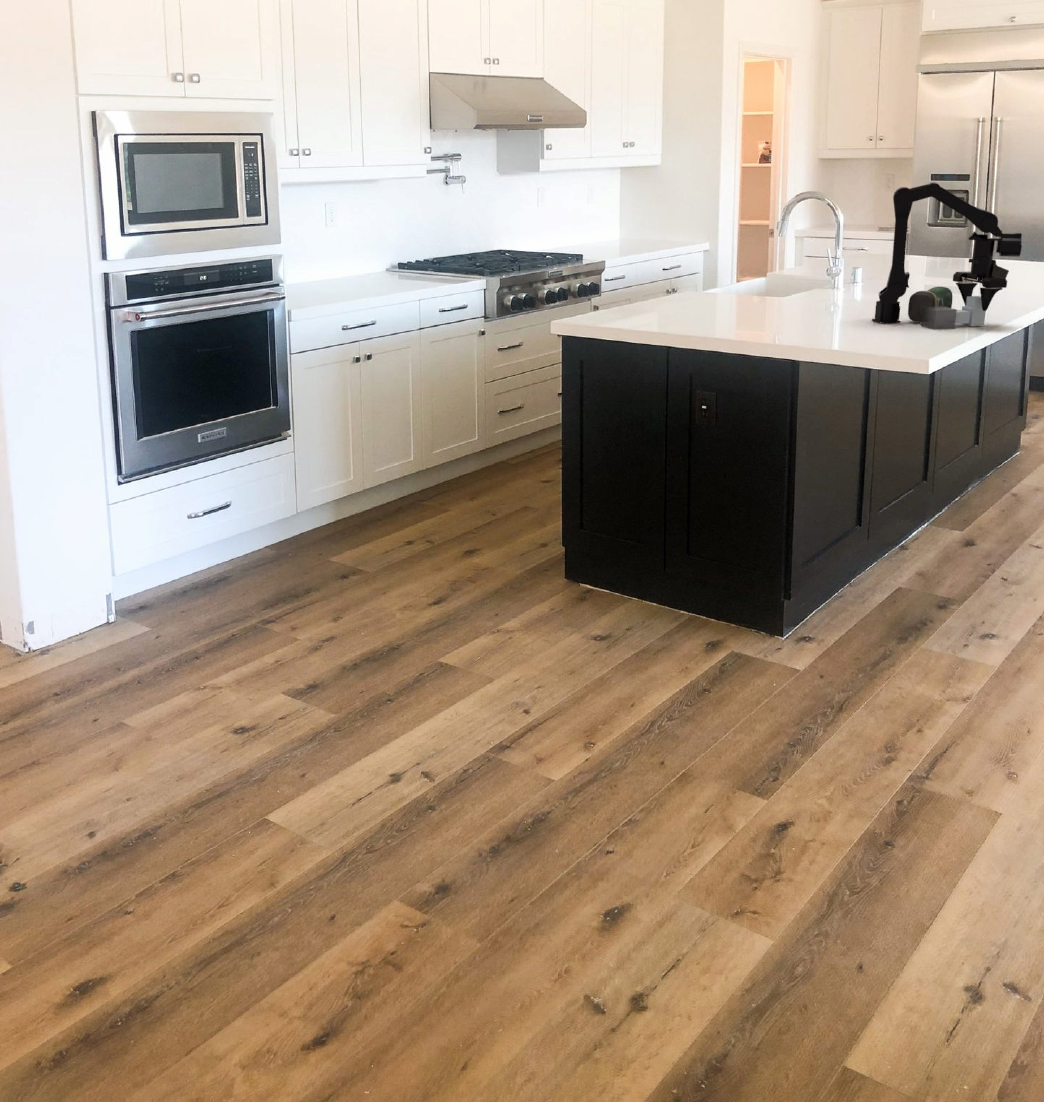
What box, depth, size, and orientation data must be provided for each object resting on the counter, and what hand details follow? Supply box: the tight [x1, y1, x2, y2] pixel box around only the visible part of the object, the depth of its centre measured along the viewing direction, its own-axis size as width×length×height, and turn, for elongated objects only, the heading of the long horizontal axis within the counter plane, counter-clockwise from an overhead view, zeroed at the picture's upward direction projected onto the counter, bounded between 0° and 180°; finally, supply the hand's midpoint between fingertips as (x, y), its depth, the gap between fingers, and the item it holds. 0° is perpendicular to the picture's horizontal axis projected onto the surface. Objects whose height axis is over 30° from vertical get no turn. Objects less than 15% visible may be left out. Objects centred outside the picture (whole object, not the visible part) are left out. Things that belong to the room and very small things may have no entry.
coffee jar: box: [907, 286, 953, 323], centre depth 374 cm, size 10×8×19 cm
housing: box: [920, 306, 958, 330], centre depth 361 cm, size 7×7×6 cm
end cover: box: [955, 295, 987, 327], centre depth 363 cm, size 11×6×8 cm, turn 106°
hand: (975, 309), depth 364 cm, fingers open, 8 cm apart
